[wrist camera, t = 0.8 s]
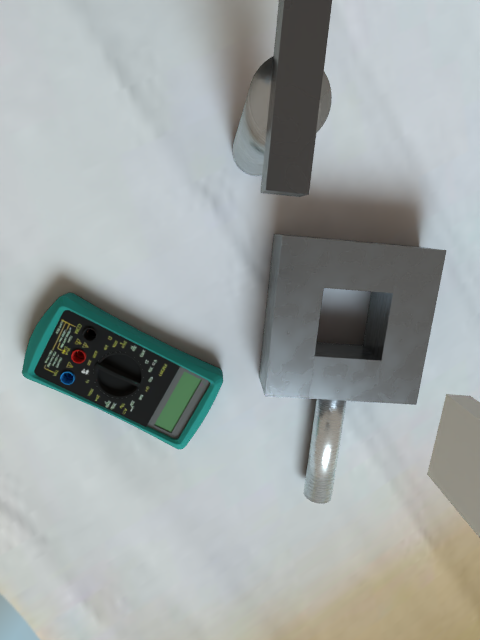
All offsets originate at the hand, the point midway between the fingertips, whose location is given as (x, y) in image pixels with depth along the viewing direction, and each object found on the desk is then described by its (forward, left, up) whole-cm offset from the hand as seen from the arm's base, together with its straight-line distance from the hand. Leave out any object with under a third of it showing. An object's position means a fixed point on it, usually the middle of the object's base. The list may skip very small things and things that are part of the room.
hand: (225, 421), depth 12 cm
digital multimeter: (+7, -7, -23) cm, 25 cm away
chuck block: (+6, +10, -22) cm, 25 cm away
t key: (-11, +2, -23) cm, 25 cm away
